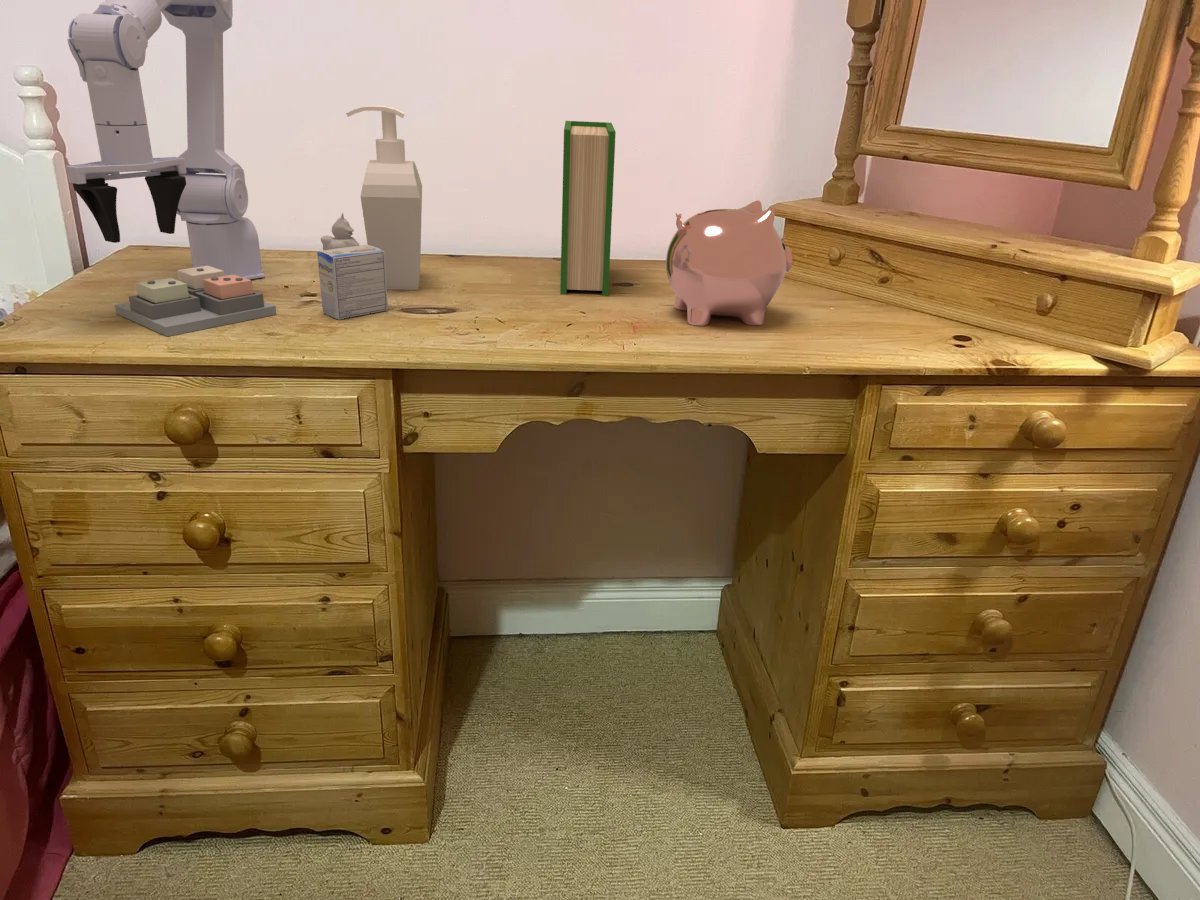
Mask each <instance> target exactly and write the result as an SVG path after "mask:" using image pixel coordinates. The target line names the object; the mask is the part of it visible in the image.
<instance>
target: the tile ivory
mask: <svg viewBox="0 0 1200 900" xmlns="http://www.w3.org/2000/svg"><path fill="white" fill-rule="evenodd" d="M176 275H177V280H178V281H181V282H183V283H186V284H187V286H188V287H190V288H193V289H199V288H204V285H203V279H209V278H213V277H221V276H225V275H224V271H222V270H219V269H216V268H213V267H210V266H201V267H194V268H193V267H187V268H182V269H177V270H176Z"/></svg>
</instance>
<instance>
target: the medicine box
mask: <svg viewBox="0 0 1200 900" xmlns="http://www.w3.org/2000/svg"><path fill="white" fill-rule="evenodd" d="M316 254H317V255H316V256H317V266H318V267H317V268H318V276H319V285H320V286H319V287H320V296H321V306H322V307H321V309H322V312H323V314H324V315H326V316H328V317H330V316H331V318H333V319H335V320H337V319H338V321H340V320H344V318H345V319H349V317H350V318H353V317H358V316H365V315H369V314H370V313H371V314H375V313H380V312H385V311H388V310H389V305H388V290H387V283H386V264H385V251H383V250H381V249H379V248H376V247H374V246H370V245H368V244H364V245H363V244H362V245H360V246H353V247H345V248H337V249H330V250H323V249H322V250H319V251H317V253H316Z"/></svg>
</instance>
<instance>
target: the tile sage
mask: <svg viewBox="0 0 1200 900" xmlns="http://www.w3.org/2000/svg"><path fill="white" fill-rule="evenodd" d="M136 287H137V293H138V294H137V295H139V297H141V298H143V299H146V300H148V301H151V302H153V303H160V302H166V301H172V300H177V299H183V298H189V294H188V288H187V284H186V283H183V282H181V281H178V279H175V278H173V277H166V278H159V279H153V280H147V281H141V282H136Z"/></svg>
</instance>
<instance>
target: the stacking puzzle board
mask: <svg viewBox="0 0 1200 900" xmlns="http://www.w3.org/2000/svg"><path fill="white" fill-rule="evenodd" d="M187 288H188V294H189V298H183V299H177V300H172V301H166V302H160V303H153V302H151V301H148V300H146V299H143V298H141V297H139V294H136V295H135V294H134V295H130V296H128V300H129V301H128V302H122V303H121V302H120V303H116V304H114V309H115V314H116V315H118V316H121V317H123V318H126V319H127V320H129V321H131V322H134V323H136V324H138V325H140V326H143V327H145V328H146V329H147V328H148V329H150V330H152V331H154V332H156V333H158V334H159V335H160V334H161V335H163V336H165V337H172V336H177V335H181V334H187V333H191V332H195V331H201V330H206V329H207V330H208V329H211V328H216V327H222V326H225V325H230V324H231V325H232V324H236V323H240V322H241V323H242V322H245V321H251V320H255V319H260V318H265V317H271V316H276V315H277V306H276V305H274V304H272V303H269V302H265V301H264V300H265V298H264V293H261V292H259V291H256V290H253V294H249V295H243V296H238V297H232V298H226V299H220V298H217V297H214V296H212V295H209V294H206V293H205V292H204V288H199V289H193V288H190V287H188V286H187Z"/></svg>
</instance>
